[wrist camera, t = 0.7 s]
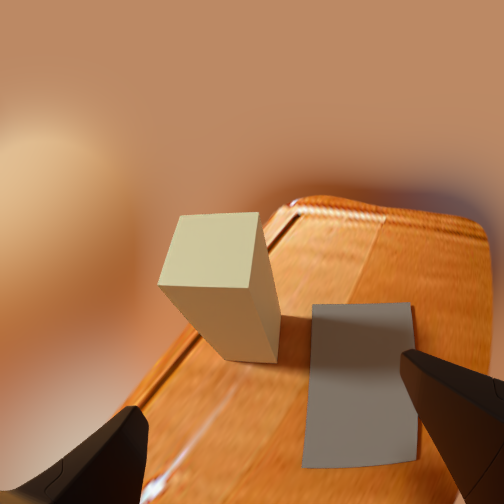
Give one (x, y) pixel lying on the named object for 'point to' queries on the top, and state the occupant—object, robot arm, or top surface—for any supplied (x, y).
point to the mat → (359, 387)
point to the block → (225, 284)
